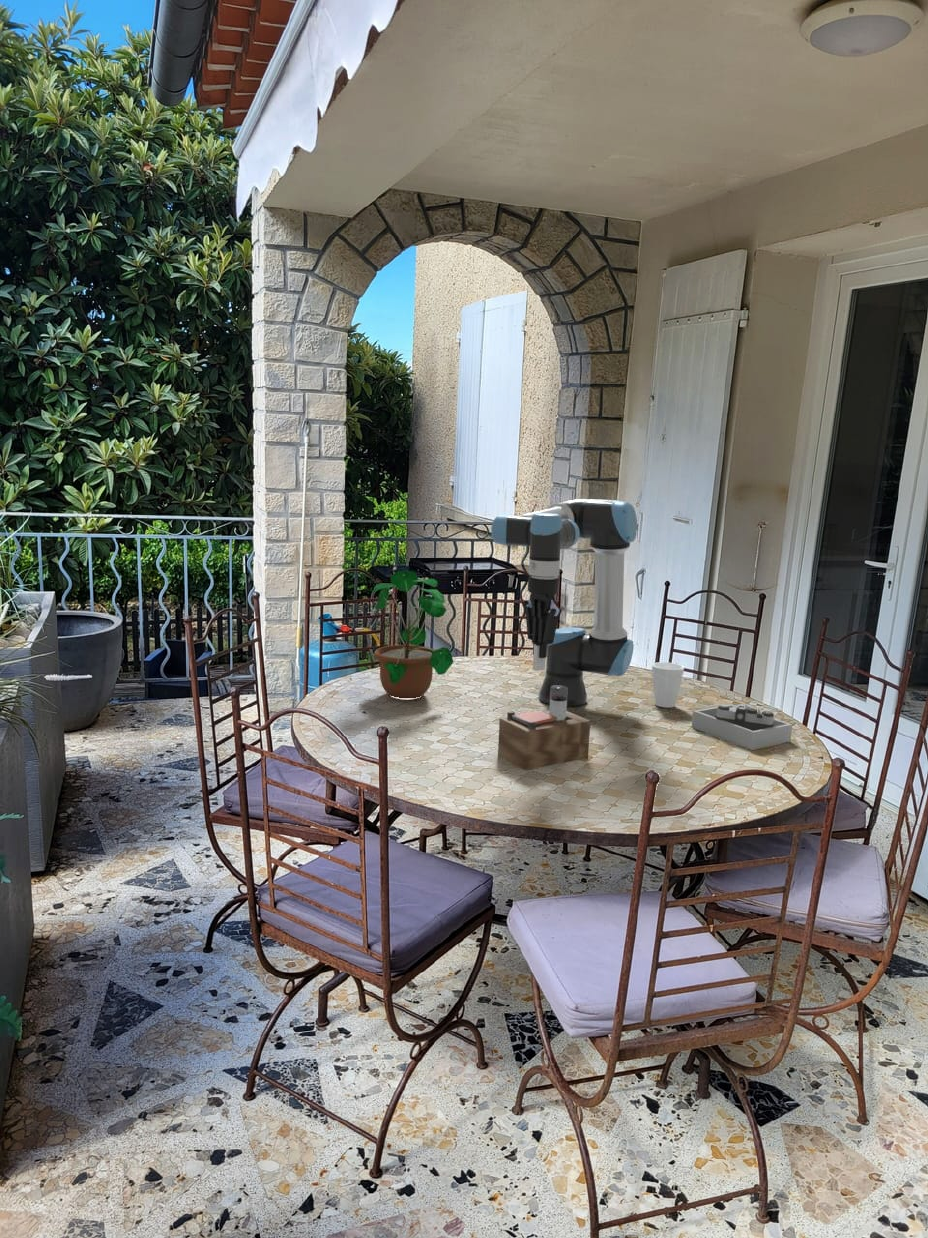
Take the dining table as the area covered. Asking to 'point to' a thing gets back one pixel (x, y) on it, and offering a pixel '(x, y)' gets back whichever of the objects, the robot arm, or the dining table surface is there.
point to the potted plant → (411, 642)
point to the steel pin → (558, 702)
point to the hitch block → (543, 741)
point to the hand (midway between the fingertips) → (538, 669)
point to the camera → (745, 717)
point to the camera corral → (741, 730)
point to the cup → (666, 683)
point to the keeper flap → (533, 717)
